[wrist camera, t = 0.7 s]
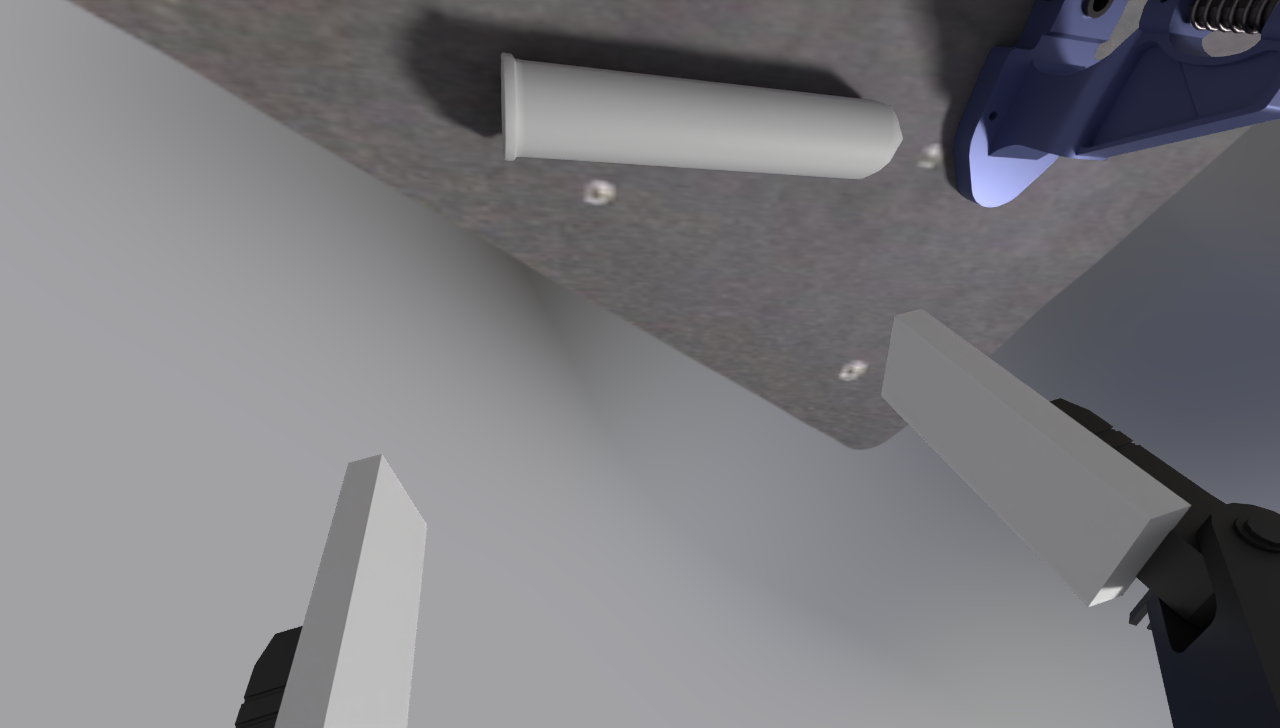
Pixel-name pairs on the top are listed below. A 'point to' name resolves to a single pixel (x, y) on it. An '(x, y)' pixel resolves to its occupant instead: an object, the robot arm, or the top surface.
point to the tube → (689, 123)
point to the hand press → (1111, 88)
